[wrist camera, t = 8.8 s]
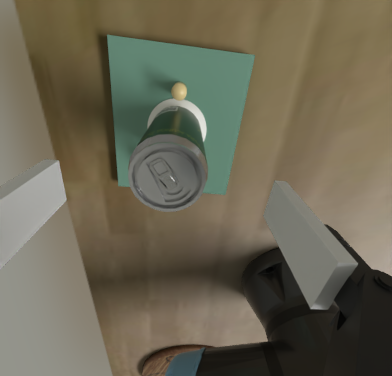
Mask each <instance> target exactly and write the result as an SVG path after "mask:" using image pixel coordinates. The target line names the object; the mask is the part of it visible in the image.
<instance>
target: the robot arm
mask: <svg viewBox="0 0 392 376" xmlns="http://www.w3.org/2000/svg"><path fill="white" fill-rule="evenodd" d="M66 200H67V199H66V194H65V189H64V185H63V180H62V175H61V170H60V165H59V160H47V159H45V160H43V161H41V162H39V163H38V164H36V165H35V166H33V167H31V168H30V169H28V170H26V171H25V172H23V173H22V174H20V175H18V176H16V177H15V178H13V179H11V180H10V181H8V182H6V183H5V184H3V185H1V186H0V269H1V268H2V267H3V266H4V265H5V264H6V263H7V262H8V261H9V260H10V259H11V258H12V257H13V256H14V255H15V254H16V253H17V252H18V251H19V250H20V249H21V247H22V246H23V245H24V244H25V243H26V242H27V241H28V240H29V239H30V238H31V237H32V236H33V235H34V234H35V233H36V232H37V231H38V230H39V229H40V228H41V226H43V225H44V223H45V222H46V221H47V220H48V219H49V218H50V217H51V216H52V215H53V214H54V213H55V212H56V211H57V210H58V209H59V208H60V207H61V206H62V205H63V204H64V203H65V202H66ZM263 216H264V218H265V220H266V222H267V224H268V226H269V228H270V230H271V232H272V234H273V236H274V238H275V240H276V242H277V244H278V246H279V249H275V250H272V251H269V252H267V253H265V254H263V255H261V256H259V257H258V258H256V259H255V260H254V261H252V262H251V263H250V264H249V265H248V267H247V268H246V269H245V271H244V273H243V276H242V286H243V290H244V294H245V297H246V299H247V301H248V303H249V304H250V306H251V307H252V309H253V311H254V312H255V314H256V315H257V317H258V319H259V320H260V322H261V323H262V325H263V327H264V329H265V332H266V335H267V339H268V342H261V343H250V344H241V345H232V346H223V347H214V348H206V347H203V348H201V349H200V350H194V351H188V352H183V353H180V354H178V355H176V356H175V357H174V358H173V359H172V361H171V362H170V364H169V366H168V368H167V371H166V373H165V376H392V276H390V275H388V274H386V273H384V272H381V271H379V270H373V269H371V268H370V267H369V266H368V265H367V264H366V262H365V261H364V260H363V259H362V258H361V257H360V256H359V255H358V254H357V253H356V252H355V251H354V249H353V248H352V247H350V245H349V244H348V243H347V242H346V241H344V239H343V237H342V236H341V235H340V234H339V233H338V232H337V231H336V230H334V229H333V228H331V227H330V226H328V225H325V224H323V223H322V222H321V221H320V219H319V218H318V217H317V216H316V215H315V214H314V213H313V211H312V210H311V209H310V208H309V207H308V206H307V205H306V204H305V202H304V201H303V200H302V199H301V198H300V197H299V196H298V194H297V193H296V192H295V191H294V190H293V189H292V188H291V186H290V185H289V184H288V183H287V182H286V181H274V184H273V187H272V190H271V193H270V196H269V199H268V203H267V206H266V209H265V212H264V215H263Z"/></svg>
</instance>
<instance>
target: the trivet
mask: <svg viewBox="0 0 392 376" xmlns="http://www.w3.org/2000/svg"><path fill="white" fill-rule="evenodd" d="M203 347H206V348H214V347H213V346H206V345H181V346H174V347H170V348H166V349H163V350H160V351H158V352H156V353H154V354H152V355H151V356H150V357H149V358H148V359H147V360H146V361H145V363H144V365H143V371H142V376H165V373H166V371H167V368H168V366H169V364H170V362H171V361H172V359H173V358H174V357H175V356H176V355H178V354H180V353H183V352H188V351H194V350H200V349H201V348H203Z"/></svg>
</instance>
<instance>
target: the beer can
mask: <svg viewBox="0 0 392 376" xmlns="http://www.w3.org/2000/svg"><path fill="white" fill-rule="evenodd" d="M128 171H129V172H128V179H129V185H130V188H131V189H132V191H133V193H134V195H135V196H136V197H137V198H138V199H139V200H140V201H141V202H142V203H143V204H145V205H147V206H149V207H151V208H152V209H156V210H160V211H164V212H166V211H178V210H182V209H185V208H187V207H189V206H190V205H192V204H193V203H195V202H196V201H197V200H198V198H199V197H200V196H201V195H202V192H203V190H204V187H205V184H206V181H207V179H208V164H207V159H206V154H205V148H204V143H203V138H202V132H201V127H200V124H199V121H198V119H197V118H196V116H195V115H194V114H193V113H192V112H191V111H189V110H188V109H186V108H183V107H180V106H170V107H167V108H164V109H163V110H161V111H160V112H159V113H158V114H157V115H156V116H155V118H154V120H153V121H152V123H151V124H150V126H149V127H148V129H147V131H146V132H145V134H144V135H143V137H142V139H141V140H140V142H139V143H138V145H137V146H136V148H135V150H134V151H133V153H132V155H131V156H130V160H129V166H128Z"/></svg>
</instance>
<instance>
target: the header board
mask: <svg viewBox="0 0 392 376" xmlns="http://www.w3.org/2000/svg"><path fill="white" fill-rule="evenodd" d="M107 40H108V53H109V66H110V80H111V93H112V106H113V120H114V133H115V146H116V160H117V173H118V186H125V187H130V185H129V179H128V172H129V171H128V166H129V160H130V156H131V155H132V153H133V151H134V150H135V148H136V146H137V145H138V143H139V142H140V140H141V139H142V137H143V135H144V134H145V132H146V131H147V129H148V127H149V126H150V124H151V123H152V121H153V120H154V118H155V116H156V115H157V114H158V113H159V112H160V111H161V110H163V109H164V108H167V107H170V106H180V107H183V108H186V109H188V110H189V111H191V112H192V113H193V114H194V115H195V116H196V118H197V119H198V121H199V124H200V127H201V132H202V138H203V143H204V148H205V154H206V159H207V164H208V179H207V181H206V184H205V187H204V190H203V192H202V193H210V194H222V195H225V194H226V189H227V185H228V180H229V175H230V171H231V166H232V161H233V156H234V152H235V147H236V142H237V138H238V133H239V128H240V124H241V119H242V114H243V110H244V105H245V100H246V95H247V91H248V86H249V81H250V77H251V72H252V67H253V63H254V58H255V55H250V54H243V53H235V52H228V51H221V50H214V49H206V48H199V47H192V46H185V45H177V44H170V43H163V42H156V41H148V40H141V39H134V38H127V37H120V36H112V35H107Z"/></svg>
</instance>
